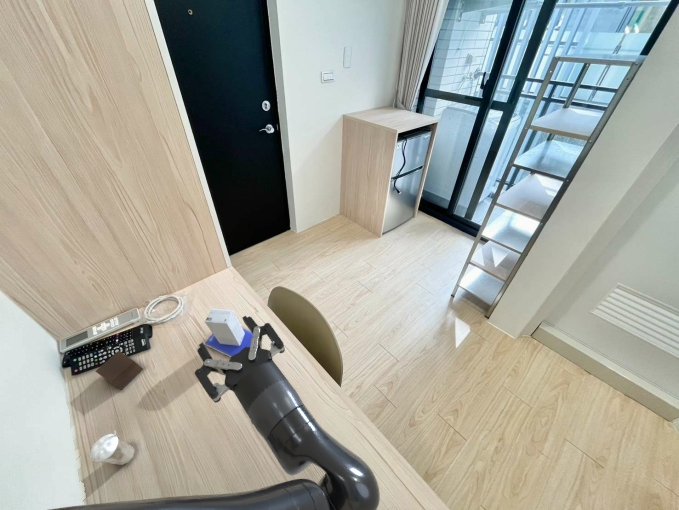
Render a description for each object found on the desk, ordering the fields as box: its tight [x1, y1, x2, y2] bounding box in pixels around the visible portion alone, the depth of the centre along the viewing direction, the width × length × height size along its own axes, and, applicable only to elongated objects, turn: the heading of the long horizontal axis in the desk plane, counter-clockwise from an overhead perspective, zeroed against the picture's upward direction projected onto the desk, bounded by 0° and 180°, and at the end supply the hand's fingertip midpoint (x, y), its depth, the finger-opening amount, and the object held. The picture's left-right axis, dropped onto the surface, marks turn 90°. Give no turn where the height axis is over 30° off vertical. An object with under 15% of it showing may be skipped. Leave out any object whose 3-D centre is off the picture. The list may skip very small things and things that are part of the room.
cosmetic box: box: [204, 308, 245, 346], centre depth 72 cm, size 6×4×12 cm
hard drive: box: [204, 328, 253, 358], centre depth 77 cm, size 2×8×12 cm
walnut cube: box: [95, 350, 144, 391], centre depth 69 cm, size 6×6×5 cm
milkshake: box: [89, 428, 136, 466], centre depth 55 cm, size 4×5×10 cm
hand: (224, 331), depth 51 cm, fingers open, 8 cm apart
